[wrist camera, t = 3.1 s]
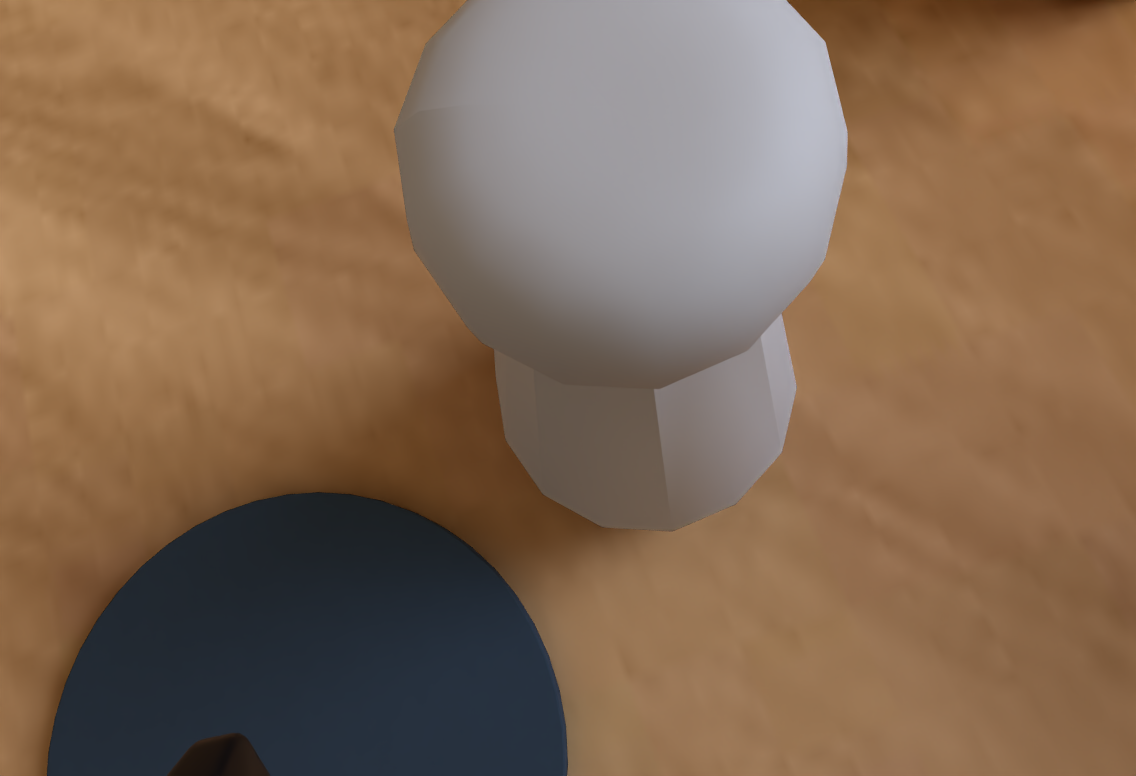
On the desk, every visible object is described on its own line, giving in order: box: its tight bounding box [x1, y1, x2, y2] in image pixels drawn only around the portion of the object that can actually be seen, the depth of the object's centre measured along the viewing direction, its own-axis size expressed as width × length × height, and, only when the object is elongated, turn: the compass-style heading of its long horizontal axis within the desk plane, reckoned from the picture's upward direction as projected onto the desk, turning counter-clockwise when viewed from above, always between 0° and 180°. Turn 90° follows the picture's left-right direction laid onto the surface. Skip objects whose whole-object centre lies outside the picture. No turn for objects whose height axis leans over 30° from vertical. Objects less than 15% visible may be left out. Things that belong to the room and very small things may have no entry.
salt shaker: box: [394, 0, 848, 531], centre depth 14 cm, size 6×6×13 cm
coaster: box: [47, 492, 568, 776], centre depth 19 cm, size 11×11×1 cm
